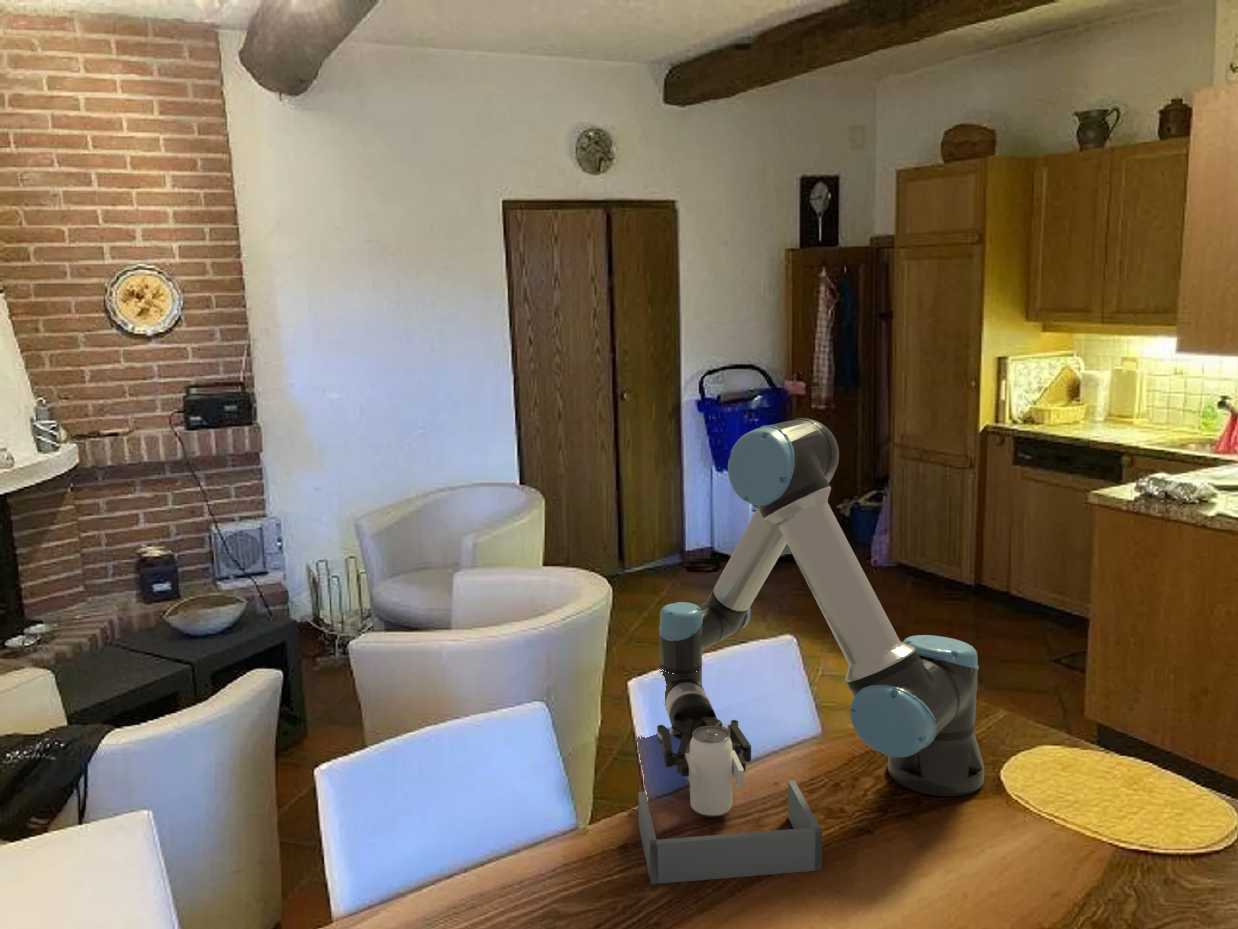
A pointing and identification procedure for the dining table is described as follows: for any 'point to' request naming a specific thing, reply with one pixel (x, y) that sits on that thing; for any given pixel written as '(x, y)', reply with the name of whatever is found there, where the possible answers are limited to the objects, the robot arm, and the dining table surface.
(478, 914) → the dining table surface
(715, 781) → the can
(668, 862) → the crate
